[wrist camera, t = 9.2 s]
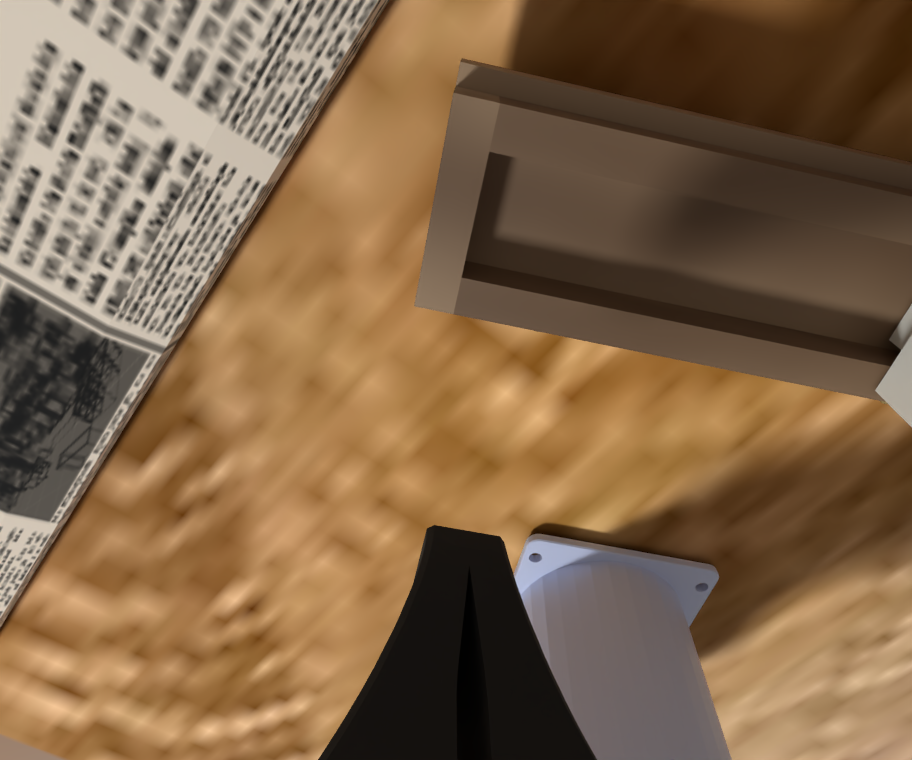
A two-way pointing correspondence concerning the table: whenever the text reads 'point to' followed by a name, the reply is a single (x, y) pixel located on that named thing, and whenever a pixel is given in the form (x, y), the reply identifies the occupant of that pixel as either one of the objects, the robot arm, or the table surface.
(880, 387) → the block
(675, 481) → the table surface
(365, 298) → the table surface
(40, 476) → the newspaper
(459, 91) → the beam
